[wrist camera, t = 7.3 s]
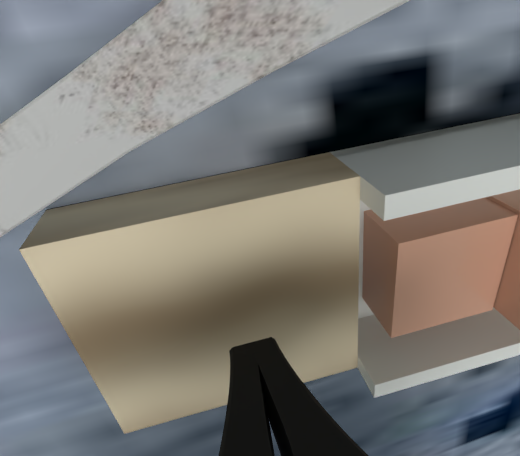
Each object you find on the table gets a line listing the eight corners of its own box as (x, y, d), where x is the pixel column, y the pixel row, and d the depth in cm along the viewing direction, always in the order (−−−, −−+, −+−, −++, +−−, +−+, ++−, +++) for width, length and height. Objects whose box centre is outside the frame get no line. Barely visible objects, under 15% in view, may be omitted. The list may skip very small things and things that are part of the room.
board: (334, 326, 18) (357, 367, 16) (130, 381, 16) (124, 433, 14) (329, 152, 13) (360, 176, 11) (45, 210, 12) (18, 249, 10)
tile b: (451, 274, 17) (492, 310, 15) (362, 297, 16) (391, 338, 14) (467, 187, 15) (518, 214, 12) (363, 210, 14) (398, 243, 12)
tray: (562, 265, 19) (646, 317, 16) (334, 326, 18) (374, 397, 14) (628, 91, 15) (766, 110, 11) (329, 152, 13) (385, 195, 10)
